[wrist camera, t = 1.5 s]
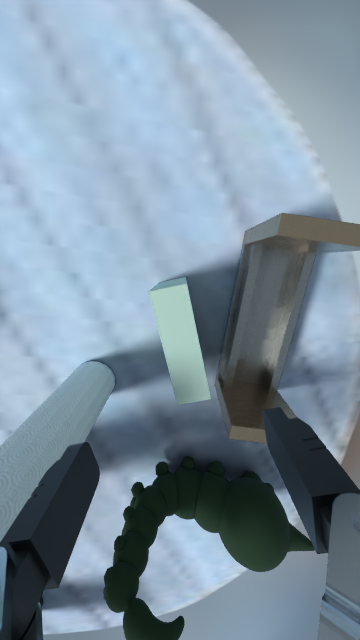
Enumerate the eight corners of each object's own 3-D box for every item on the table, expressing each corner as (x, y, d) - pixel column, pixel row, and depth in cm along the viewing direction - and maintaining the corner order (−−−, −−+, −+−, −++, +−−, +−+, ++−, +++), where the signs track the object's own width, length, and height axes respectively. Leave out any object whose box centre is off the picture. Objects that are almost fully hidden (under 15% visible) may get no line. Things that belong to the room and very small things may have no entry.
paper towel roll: (120, 366, 31) (-5, 574, 10) (111, 401, 32) (-13, 643, 12) (70, 352, 30) (-164, 542, 10) (63, 388, 32) (-151, 618, 11)
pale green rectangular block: (202, 360, 31) (210, 399, 22) (178, 365, 31) (177, 405, 22) (185, 276, 28) (186, 283, 19) (159, 282, 28) (148, 291, 19)
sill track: (268, 391, 32) (305, 447, 22) (214, 384, 32) (228, 438, 22) (309, 240, 26) (383, 227, 17) (245, 231, 26) (282, 212, 16)
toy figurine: (141, 477, 38) (283, 505, 37) (85, 669, 20) (362, 741, 19) (145, 434, 36) (297, 461, 34) (86, 608, 18) (405, 684, 16)
